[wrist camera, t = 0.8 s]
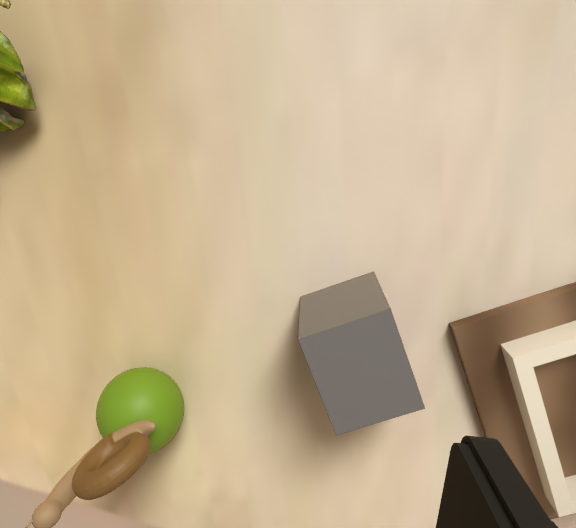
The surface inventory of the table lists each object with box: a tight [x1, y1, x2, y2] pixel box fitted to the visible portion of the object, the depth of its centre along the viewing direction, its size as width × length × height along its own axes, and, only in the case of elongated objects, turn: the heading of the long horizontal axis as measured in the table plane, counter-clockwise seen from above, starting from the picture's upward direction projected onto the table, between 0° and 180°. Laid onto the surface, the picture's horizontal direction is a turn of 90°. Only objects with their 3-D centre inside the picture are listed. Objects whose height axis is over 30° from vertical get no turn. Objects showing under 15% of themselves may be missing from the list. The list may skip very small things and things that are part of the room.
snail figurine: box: [25, 368, 184, 528], centre depth 29 cm, size 5×6×12 cm
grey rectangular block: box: [298, 272, 425, 435], centre depth 30 cm, size 5×7×7 cm
